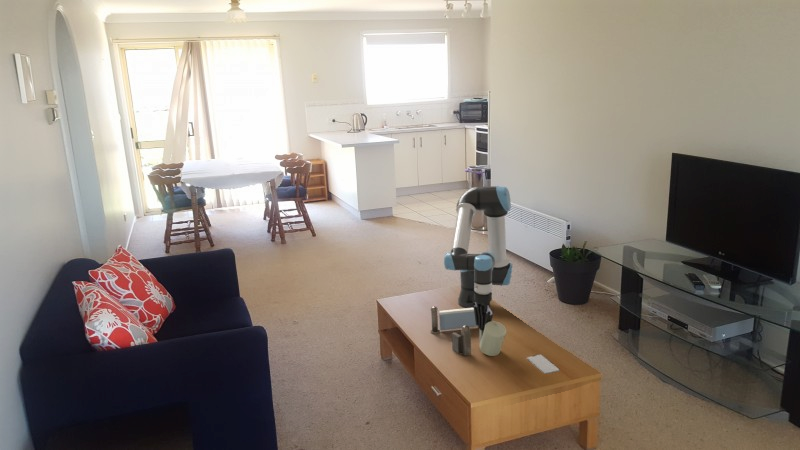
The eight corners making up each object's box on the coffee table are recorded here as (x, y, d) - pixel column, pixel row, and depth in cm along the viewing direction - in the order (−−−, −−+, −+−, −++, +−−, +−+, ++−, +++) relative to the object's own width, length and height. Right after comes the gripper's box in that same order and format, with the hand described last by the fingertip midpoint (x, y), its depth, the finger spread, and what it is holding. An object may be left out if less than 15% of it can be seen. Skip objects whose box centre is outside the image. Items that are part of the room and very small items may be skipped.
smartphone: (544, 373, 228) (525, 357, 242) (544, 375, 228) (525, 358, 242) (560, 370, 230) (541, 353, 244) (560, 371, 230) (541, 355, 244)
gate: (440, 330, 271) (440, 312, 268) (439, 328, 273) (439, 310, 271) (485, 326, 273) (485, 308, 271) (484, 324, 275) (484, 306, 273)
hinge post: (436, 329, 275) (435, 304, 271) (441, 332, 271) (440, 306, 268) (428, 331, 273) (427, 306, 270) (433, 334, 269) (432, 309, 266)
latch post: (461, 347, 255) (460, 319, 252) (471, 354, 248) (471, 326, 245) (452, 349, 253) (451, 322, 250) (462, 357, 246) (461, 328, 243)
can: (499, 341, 253) (505, 321, 246) (501, 357, 245) (507, 337, 238) (478, 338, 253) (484, 318, 246) (479, 354, 245) (485, 334, 238)
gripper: (467, 288, 251) (467, 338, 257) (484, 297, 240) (483, 350, 246) (481, 285, 254) (481, 335, 260) (499, 294, 243) (498, 346, 249)
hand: (482, 342), depth 253 cm, fingers closed
